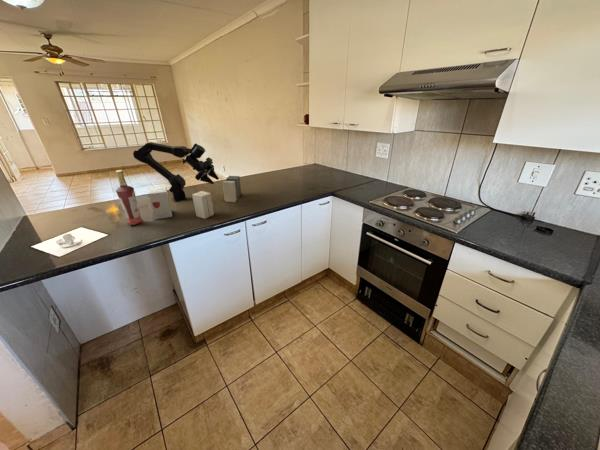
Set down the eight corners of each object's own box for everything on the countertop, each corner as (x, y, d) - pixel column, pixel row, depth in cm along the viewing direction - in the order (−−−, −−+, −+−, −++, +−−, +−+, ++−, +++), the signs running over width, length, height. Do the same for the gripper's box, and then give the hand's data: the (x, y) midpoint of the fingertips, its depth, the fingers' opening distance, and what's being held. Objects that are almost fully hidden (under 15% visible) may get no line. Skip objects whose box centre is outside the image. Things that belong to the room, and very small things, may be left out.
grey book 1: (238, 197, 165) (236, 178, 159) (228, 197, 165) (226, 178, 159) (239, 196, 168) (238, 177, 162) (229, 195, 168) (227, 177, 162)
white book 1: (205, 218, 135) (201, 196, 129) (196, 216, 138) (191, 194, 132) (209, 216, 138) (205, 195, 132) (200, 214, 141) (196, 192, 135)
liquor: (141, 225, 127) (125, 172, 114) (125, 227, 125) (106, 173, 112) (145, 219, 133) (130, 168, 120) (130, 221, 131) (112, 169, 118)
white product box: (154, 220, 133) (147, 193, 126) (154, 213, 140) (147, 188, 133) (172, 216, 137) (166, 191, 130) (172, 211, 144) (166, 186, 137)
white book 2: (210, 216, 138) (206, 194, 132) (200, 213, 141) (197, 192, 135) (213, 214, 141) (210, 193, 135) (205, 212, 143) (201, 190, 137)
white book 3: (235, 202, 158) (233, 182, 152) (224, 201, 158) (222, 182, 152) (236, 200, 161) (234, 181, 155) (226, 200, 161) (223, 180, 155)
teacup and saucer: (53, 245, 108) (49, 237, 107) (73, 237, 115) (70, 229, 113) (66, 249, 106) (62, 241, 104) (86, 240, 112) (82, 233, 111)
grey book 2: (240, 195, 168) (238, 177, 162) (230, 195, 169) (227, 177, 163) (241, 194, 171) (239, 176, 165) (231, 194, 171) (229, 175, 165)
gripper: (196, 157, 138) (218, 176, 143) (208, 151, 155) (228, 168, 160) (185, 171, 142) (207, 189, 147) (198, 163, 159) (218, 180, 164)
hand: (216, 181), depth 154 cm, fingers open, 9 cm apart
